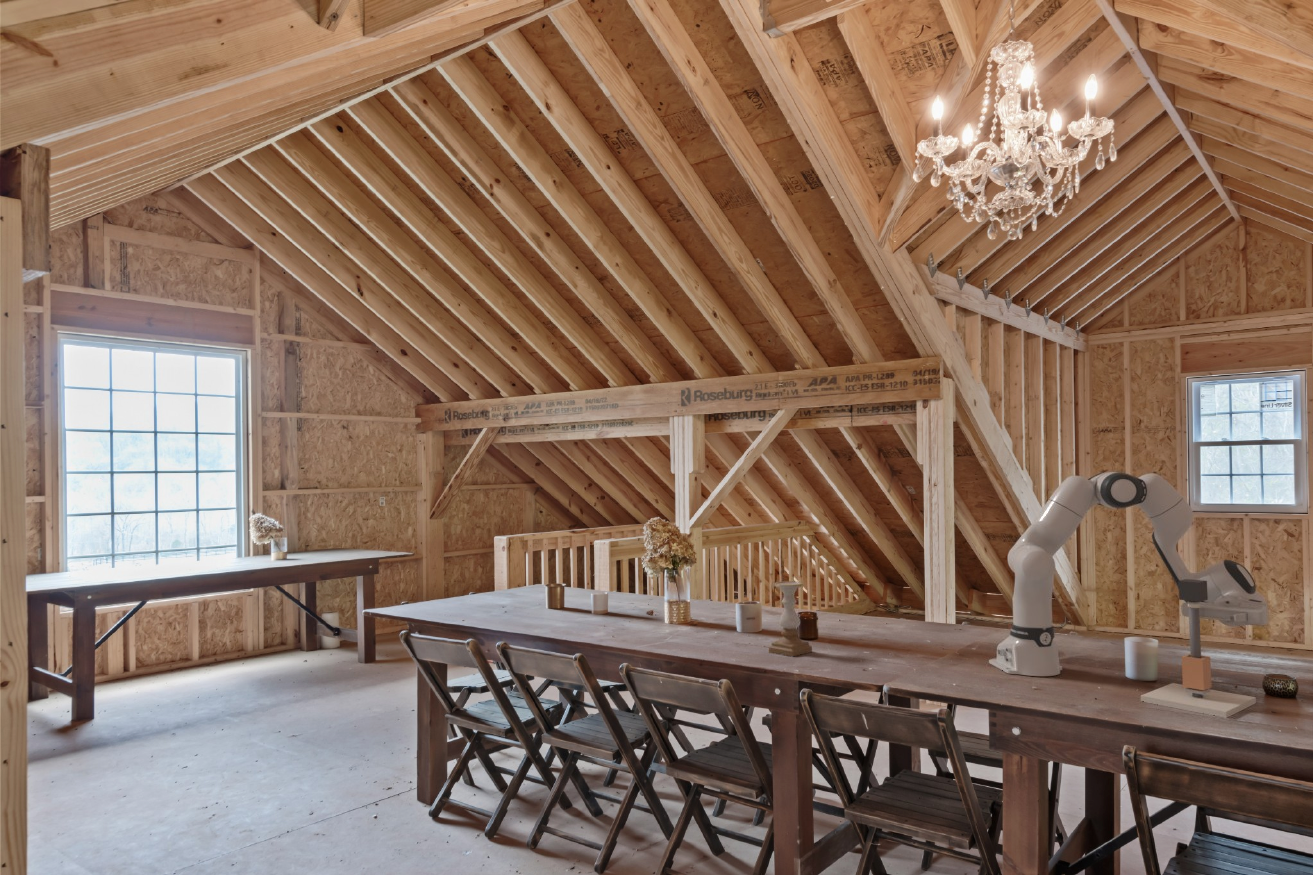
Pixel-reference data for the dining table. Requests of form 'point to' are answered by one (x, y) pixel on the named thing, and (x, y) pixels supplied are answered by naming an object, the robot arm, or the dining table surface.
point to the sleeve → (1196, 672)
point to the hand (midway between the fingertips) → (1213, 616)
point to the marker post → (1194, 698)
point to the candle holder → (789, 624)
